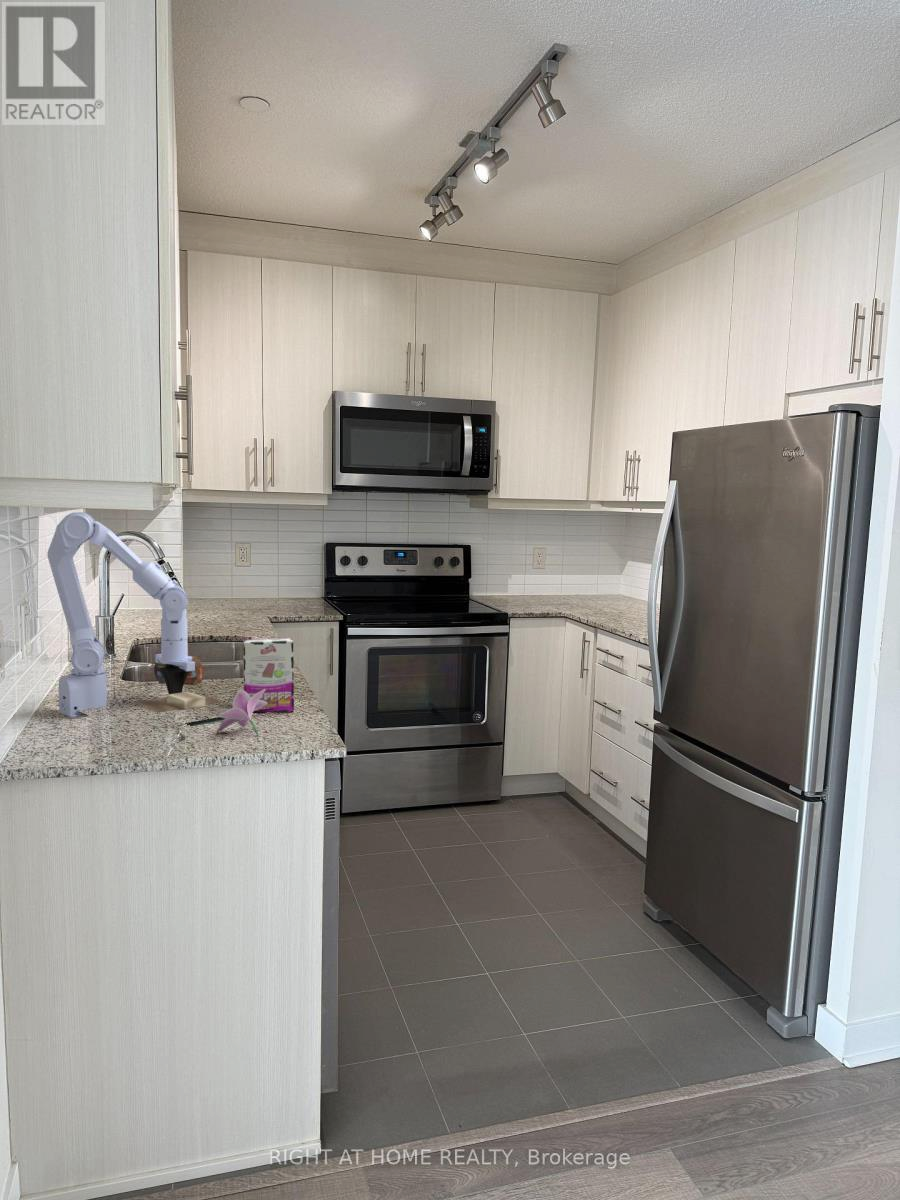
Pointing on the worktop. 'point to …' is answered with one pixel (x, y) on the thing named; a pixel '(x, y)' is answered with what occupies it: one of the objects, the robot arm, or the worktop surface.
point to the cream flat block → (186, 700)
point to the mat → (205, 721)
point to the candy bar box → (270, 672)
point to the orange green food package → (192, 677)
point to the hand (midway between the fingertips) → (175, 697)
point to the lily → (242, 709)
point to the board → (162, 705)
